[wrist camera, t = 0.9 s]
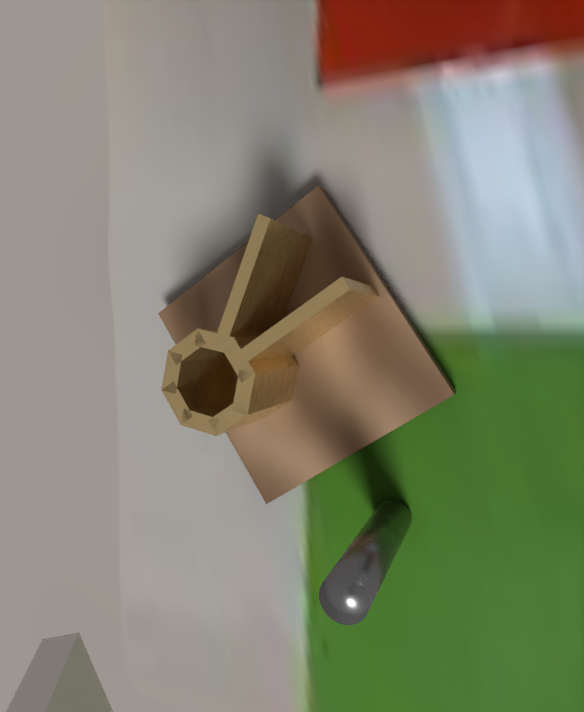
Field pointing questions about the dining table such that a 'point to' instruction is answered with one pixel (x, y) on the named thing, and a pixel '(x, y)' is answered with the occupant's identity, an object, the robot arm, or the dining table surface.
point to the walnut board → (325, 359)
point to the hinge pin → (365, 564)
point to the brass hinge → (256, 336)
